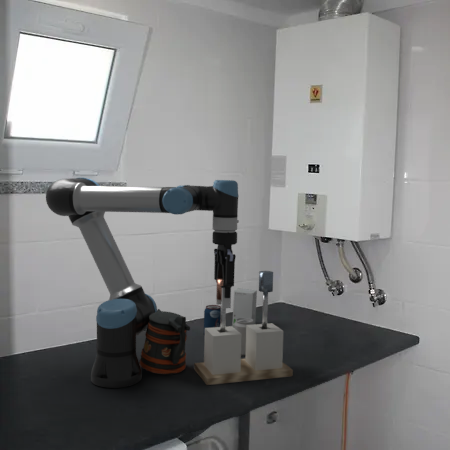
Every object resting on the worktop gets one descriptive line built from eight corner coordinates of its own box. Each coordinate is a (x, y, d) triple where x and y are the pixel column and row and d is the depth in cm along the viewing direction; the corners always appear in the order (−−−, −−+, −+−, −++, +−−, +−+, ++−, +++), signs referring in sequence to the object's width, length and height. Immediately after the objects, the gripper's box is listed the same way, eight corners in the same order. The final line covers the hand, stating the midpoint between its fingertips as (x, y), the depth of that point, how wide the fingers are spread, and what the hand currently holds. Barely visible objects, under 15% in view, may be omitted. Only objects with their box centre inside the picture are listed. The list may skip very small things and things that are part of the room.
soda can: (220, 341, 219) (221, 309, 218) (202, 339, 220) (202, 308, 219) (223, 335, 226) (224, 305, 224) (205, 334, 227) (206, 303, 226)
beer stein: (201, 378, 183) (210, 316, 180) (160, 384, 175) (168, 320, 171) (170, 354, 198) (178, 297, 195) (131, 359, 190) (138, 300, 186)
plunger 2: (260, 333, 185) (262, 273, 183) (255, 329, 189) (257, 271, 187) (273, 332, 186) (275, 273, 184) (268, 328, 190) (269, 270, 188)
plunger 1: (218, 342, 180) (219, 281, 178) (213, 338, 184) (214, 278, 182) (231, 341, 182) (233, 280, 180) (227, 337, 186) (228, 277, 184)
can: (229, 354, 204) (230, 320, 203) (238, 348, 211) (239, 315, 209) (248, 358, 201) (249, 323, 199) (257, 352, 207) (258, 318, 206)
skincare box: (231, 329, 235) (232, 291, 233) (236, 325, 241) (237, 287, 239) (252, 331, 232) (253, 292, 230) (256, 327, 238) (257, 289, 237)
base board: (206, 385, 175) (207, 378, 175) (194, 369, 189) (194, 363, 188) (292, 376, 184) (292, 369, 184) (274, 361, 198) (274, 355, 197)
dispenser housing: (212, 374, 178) (213, 336, 177) (204, 365, 187) (204, 328, 186) (282, 367, 186) (283, 330, 184) (270, 358, 194) (272, 323, 193)
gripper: (246, 234, 172) (244, 312, 175) (227, 227, 189) (225, 299, 191) (222, 234, 170) (220, 313, 172) (204, 227, 186) (203, 300, 189)
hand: (223, 305), depth 182 cm, fingers closed on plunger 1, 4 cm apart
